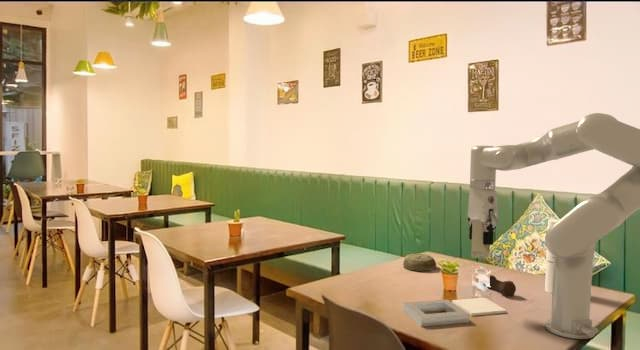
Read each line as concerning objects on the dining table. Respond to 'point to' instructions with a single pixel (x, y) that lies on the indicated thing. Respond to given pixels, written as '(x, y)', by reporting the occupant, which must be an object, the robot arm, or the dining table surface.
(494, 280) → the dark brown dumbbell
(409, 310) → the socket block
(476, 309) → the tile
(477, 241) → the grey upright block
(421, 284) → the dining table surface
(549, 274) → the cylindrical container
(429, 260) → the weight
